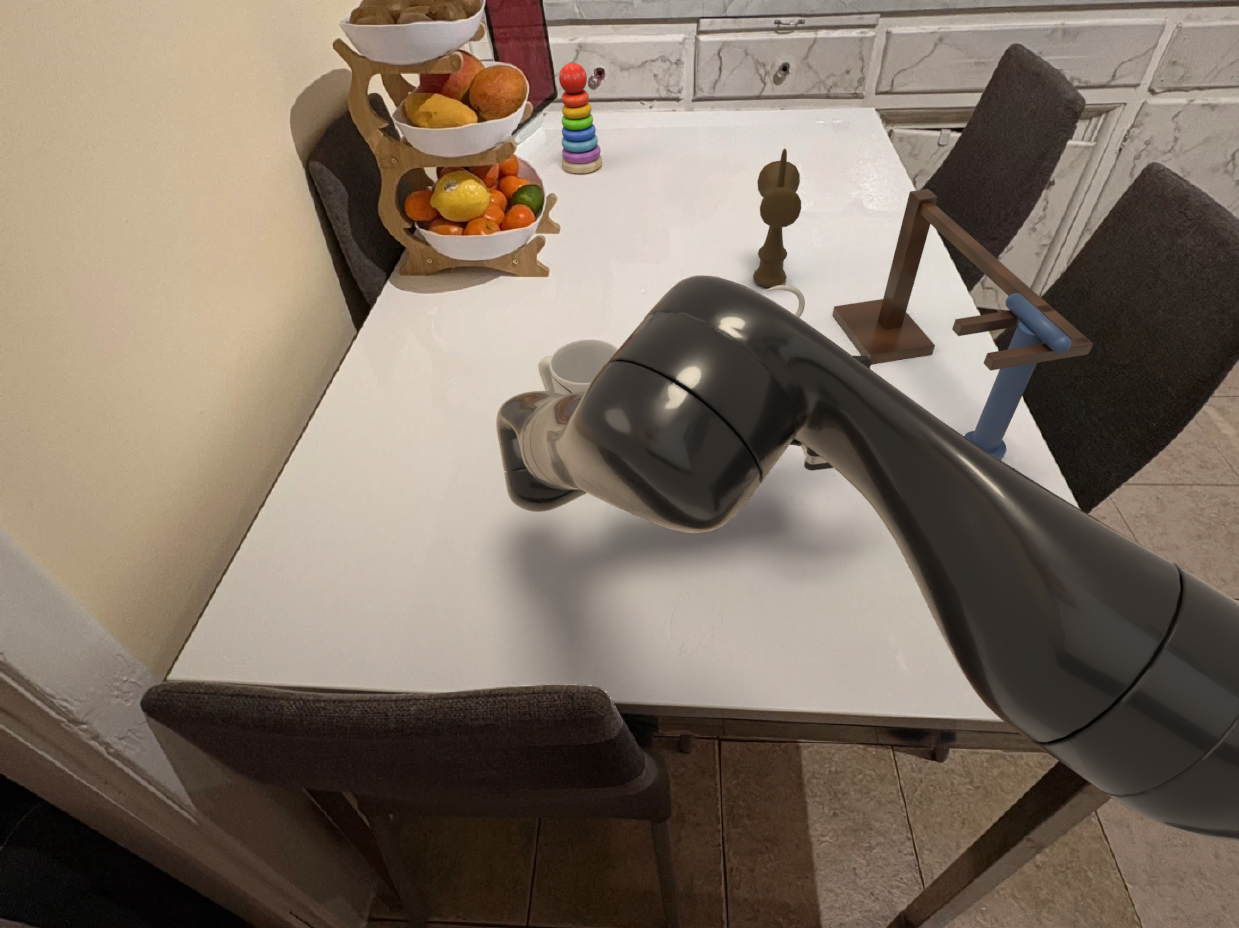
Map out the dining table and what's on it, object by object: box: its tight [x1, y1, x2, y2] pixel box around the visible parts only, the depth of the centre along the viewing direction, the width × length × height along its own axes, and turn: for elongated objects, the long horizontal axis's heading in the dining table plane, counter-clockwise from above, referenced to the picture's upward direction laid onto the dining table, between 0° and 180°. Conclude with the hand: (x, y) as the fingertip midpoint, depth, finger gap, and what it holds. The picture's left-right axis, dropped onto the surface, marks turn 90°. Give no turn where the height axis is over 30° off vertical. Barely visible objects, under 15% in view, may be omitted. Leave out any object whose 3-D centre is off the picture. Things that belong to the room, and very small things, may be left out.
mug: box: [537, 339, 619, 395], centre depth 86 cm, size 11×8×10 cm
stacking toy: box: [558, 62, 603, 174], centre depth 136 cm, size 8×8×19 cm
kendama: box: [752, 148, 802, 288], centre depth 103 cm, size 6×10×20 cm, turn 173°
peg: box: [963, 293, 1071, 461], centre depth 72 cm, size 4×9×17 cm, turn 11°
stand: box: [832, 188, 1094, 371], centre depth 84 cm, size 36×12×20 cm, turn 11°
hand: (888, 392), depth 67 cm, fingers open, 8 cm apart
